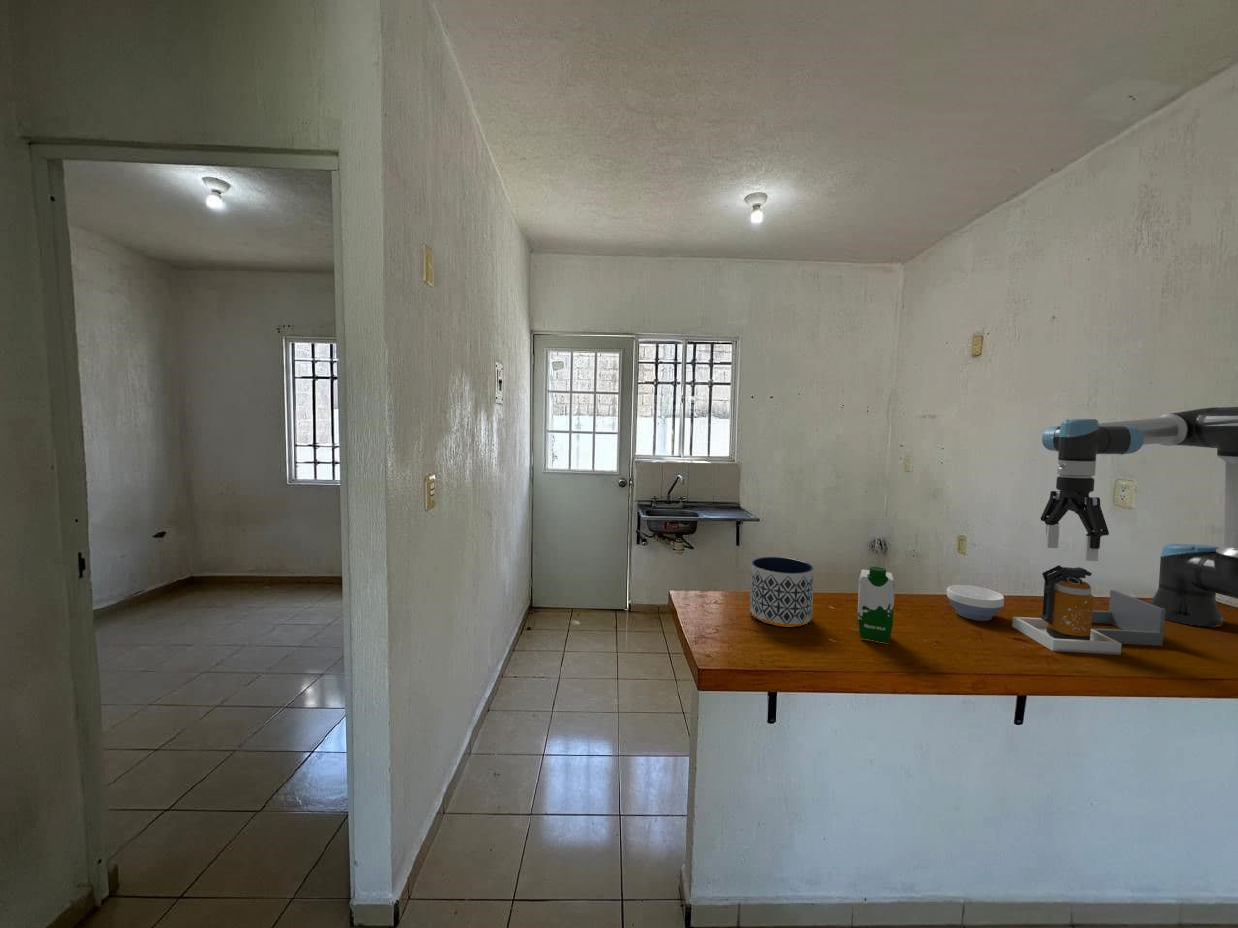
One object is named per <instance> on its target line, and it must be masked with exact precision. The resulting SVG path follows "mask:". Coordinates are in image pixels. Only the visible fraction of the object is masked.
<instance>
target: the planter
mask: <svg viewBox="0 0 1238 928" xmlns="http://www.w3.org/2000/svg"><path fill="white" fill-rule="evenodd" d="M750 564H751V565H750V591H749V592H750V594H749V596H750V597H749V598H750V599H749V612H750V611H751V612H752V614H754V615H755V616H756V617H758V618H760V619H765V620H767V621H771V622H775V623H780V624H796V625H797V624H804V623H807V622H809V621H810V620H811V619H812V620H813V601H814V600H813V599H814V598H813V597H814V577H815V576H814V569H815V568H814V566H813V565H812V564H811V563H809V562H807V561H803V560H801V559H796V558H791V557H790V558H789V557H780V556H763V557H757V558H755V559H752V560H751V563H750Z"/></svg>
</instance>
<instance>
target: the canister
mask: <svg viewBox="0 0 1238 928" xmlns="http://www.w3.org/2000/svg"><path fill="white" fill-rule="evenodd" d="M1041 574H1042V577H1043V579H1044V584H1043V601H1042V603H1043V604H1042V611H1041V612H1042V614H1041V615H1040V617H1039V618H1041V619H1043V620H1044V621H1046V622H1047V629H1046V632H1047V633H1048V634H1050V635H1052V636H1054V637H1055V638H1058V639H1073V640H1090V634H1091V629H1092V623H1091V622H1092V610H1093V607H1094V595H1092V587H1091V585H1090V584H1089V583H1088V582H1086V581H1085V580H1084V581H1083V580H1082V579H1086V577H1087V576H1088V577H1091V576H1092V572H1090V571H1088V570H1087V569H1085V568H1083V567H1079V566H1077V567H1066V566H1064V567H1063V566H1061V565H1059V564H1058V565H1056V566H1054V567H1053V568H1050V569H1048V570H1046V571H1043V572H1042V573H1041Z"/></svg>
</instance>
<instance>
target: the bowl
mask: <svg viewBox="0 0 1238 928" xmlns="http://www.w3.org/2000/svg"><path fill="white" fill-rule="evenodd" d="M946 595H947V598H948V600H949V602H950V604H951V606H952V608H953V609H955V612H956V614H957V615H959V616H961V617H962V618H965V619H967V620H971V619H972V621H977V622H987V621H991V620H992V619H993V617H995V616H996V615H998V613H999V612H1000V611H1001V610H1002V608H1003V607H1004V604H1005V596H1004V595H1003V594H1002V593H999V592H998V591H995V590H992V589H989V588H985V587H980V586H974V585H965V584H955V585H949V586H948V587H947V588H946Z"/></svg>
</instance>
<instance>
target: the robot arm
mask: <svg viewBox="0 0 1238 928" xmlns="http://www.w3.org/2000/svg"><path fill="white" fill-rule="evenodd" d="M1041 443H1042V445H1043V446H1044V448H1045V449H1046V450H1049V451H1052V452H1058V454H1057V455H1058V456H1057V474H1058V476H1056V483H1055V488H1056V490H1051V491H1050V494H1049V499H1048V501H1047V503H1046V505H1045V507H1044V509H1043V511H1042V514H1041V516H1040V521H1041V522H1044V524H1045V525H1046V527H1045V534H1046V535H1045V536H1046V537H1045V548H1047V549H1058V548H1059V538H1060V537H1059V536H1060V521H1061V520H1062V519H1063V517H1064V516H1065V515H1066V514H1067V513H1068V511H1071V512H1074V513H1075V514H1076V515H1078V518H1079V519H1080V521H1081V523H1082V525H1083V527H1084V529H1085V530H1086V532H1087V533H1086V534H1085V538H1084V549H1083V550H1084V551H1083V552H1084V554H1083V560H1084V561H1086V562H1088V561H1089V562H1098V560H1099V549H1100V548H1101V544H1100V543H1101V538H1102V537H1103V536H1109V535H1110V532H1109V531H1110V530H1109V529H1108V525H1107V523H1106V519H1105V516H1104V513H1103V511H1102V507H1101V497H1099V496H1095V497H1092V496H1091V497H1090V494H1091V493H1093V492H1094V490H1095V478H1094V476H1095V475H1096V466H1097V463H1096V462H1097V455H1121V456H1122V455H1127V454H1128V455H1129V454H1135V453H1136V452H1138V451H1139V450H1141V449H1142V447H1143V446H1145V445H1146V446H1147V445H1157V444H1159V445H1161V446H1167V447H1171V446H1183V447H1185V446H1186V447H1187V446H1188V447H1196V448H1197V447H1199V448H1211V449H1216V451H1217V452H1216V455H1217V456H1216V457H1217V458H1220V459H1221V460H1223V461H1224V462H1225V477H1224V479H1225V480H1224V481H1225V482H1224V483H1225V485H1224V486H1225V487H1224V535H1223V536H1224V537H1223V538H1224V542H1223V543H1224V544H1223V545H1222V546H1216V545H1209V544H1208V545H1206V544H1193V543H1190V544H1189V543H1168V544H1165V545H1164V546H1163V547H1162V549H1161V555H1160V560H1159V562H1160V563H1159V574H1158V575H1159V576H1158V577H1159V578H1158V588H1157V591H1156V592H1155V594H1154V596H1153V598H1152V601H1151V602H1148V603H1149V604H1152V605H1155V606H1157V607H1160V608H1163V609H1165V610H1166V612H1165V620H1166V621H1171V622H1173V621H1174V622H1173V623H1178V622H1179V623H1178V624H1182V623H1183V624H1184V625H1187V624H1189V625H1188V626H1193V625H1197V626H1196V627H1200V626H1216V625H1220V624H1222V625H1223V621H1224V619H1223V615H1222V614H1221V611H1220V607H1219V605H1218V602H1217V600H1216V598H1217V597H1216V595H1217V594H1219V595H1222V596H1225V597H1229V598H1234V599H1237V600H1238V406H1228V407H1227V406H1226V407H1225V406H1223V407H1214V406H1213V407H1204V408H1199V409H1197V408H1196V409H1191V410H1185V411H1179V412H1171V413H1164V414H1160V415H1158V416H1156V417H1155V418H1153V417H1152V418H1146V419H1145V418H1144V419H1143V418H1142V419H1133V420H1122V421H1111V422H1100V423H1099V420H1097V419H1096V418H1071V419H1070V418H1067V419H1063V420H1062V421H1061V423H1060V425H1058V426H1055V425H1054V426H1050V427H1048V428H1046V429H1045V430H1044V431H1043V433H1042V435H1041ZM1183 624H1182V625H1183Z"/></svg>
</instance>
